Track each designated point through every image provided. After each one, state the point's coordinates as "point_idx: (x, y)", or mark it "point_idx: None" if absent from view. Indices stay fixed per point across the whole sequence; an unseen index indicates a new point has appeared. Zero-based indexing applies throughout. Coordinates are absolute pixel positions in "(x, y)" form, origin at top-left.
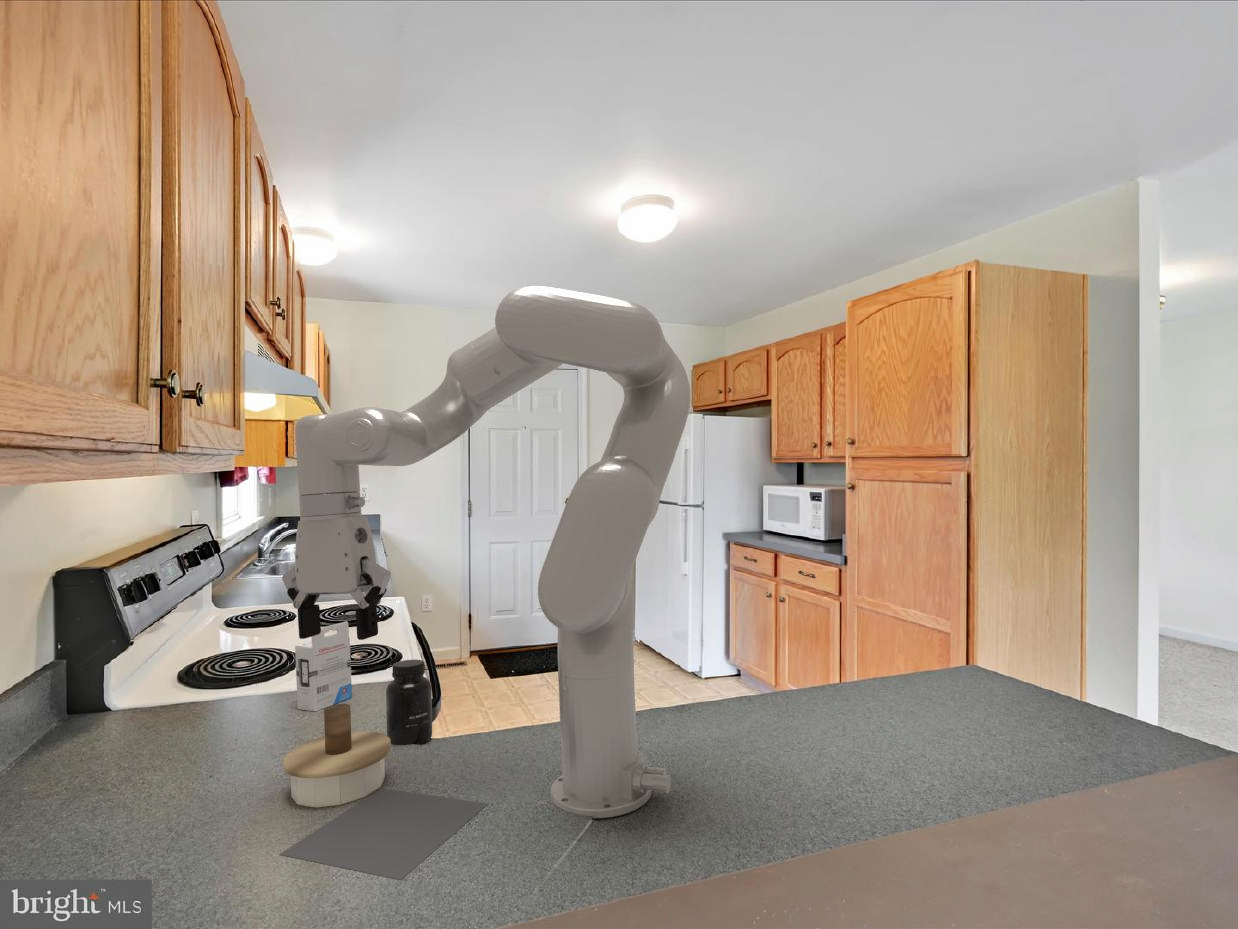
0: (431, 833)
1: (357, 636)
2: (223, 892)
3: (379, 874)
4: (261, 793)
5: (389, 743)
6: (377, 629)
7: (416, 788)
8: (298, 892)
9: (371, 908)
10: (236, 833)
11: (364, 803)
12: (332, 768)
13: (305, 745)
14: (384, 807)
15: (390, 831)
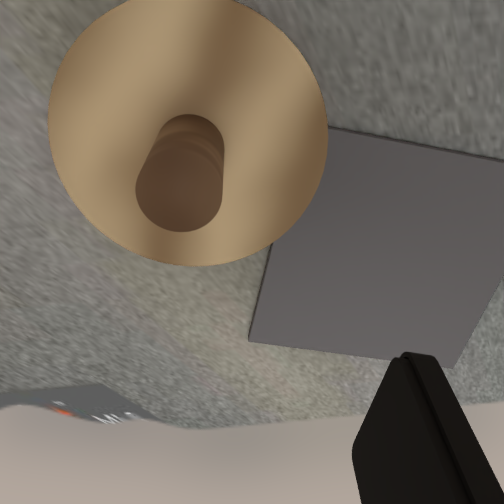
0: (468, 275)
1: (356, 465)
2: (224, 392)
3: None
4: (17, 144)
5: (318, 94)
6: (441, 375)
7: (375, 92)
8: (321, 383)
9: None
10: (114, 283)
11: None
12: (247, 249)
13: (65, 124)
14: (350, 205)
15: (395, 275)
